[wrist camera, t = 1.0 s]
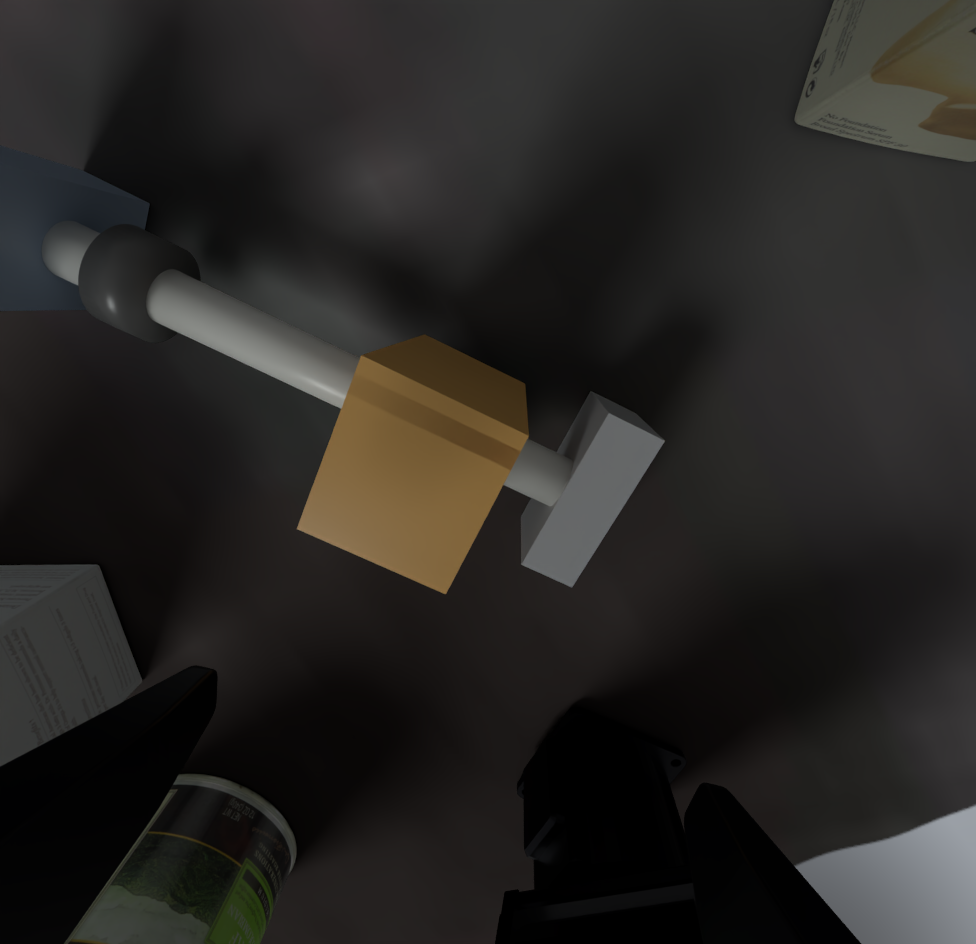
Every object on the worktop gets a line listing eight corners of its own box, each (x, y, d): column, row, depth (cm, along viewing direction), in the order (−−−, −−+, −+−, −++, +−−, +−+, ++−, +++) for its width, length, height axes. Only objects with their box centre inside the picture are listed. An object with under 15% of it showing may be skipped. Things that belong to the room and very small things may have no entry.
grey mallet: (635, 413, 19) (686, 460, 13) (562, 535, 21) (578, 623, 15) (86, 140, 17) (-134, 57, 11) (62, 304, 19) (-135, 304, 13)
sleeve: (525, 383, 17) (528, 435, 11) (472, 488, 19) (445, 594, 12) (424, 334, 17) (361, 355, 10) (379, 445, 19) (296, 528, 12)
